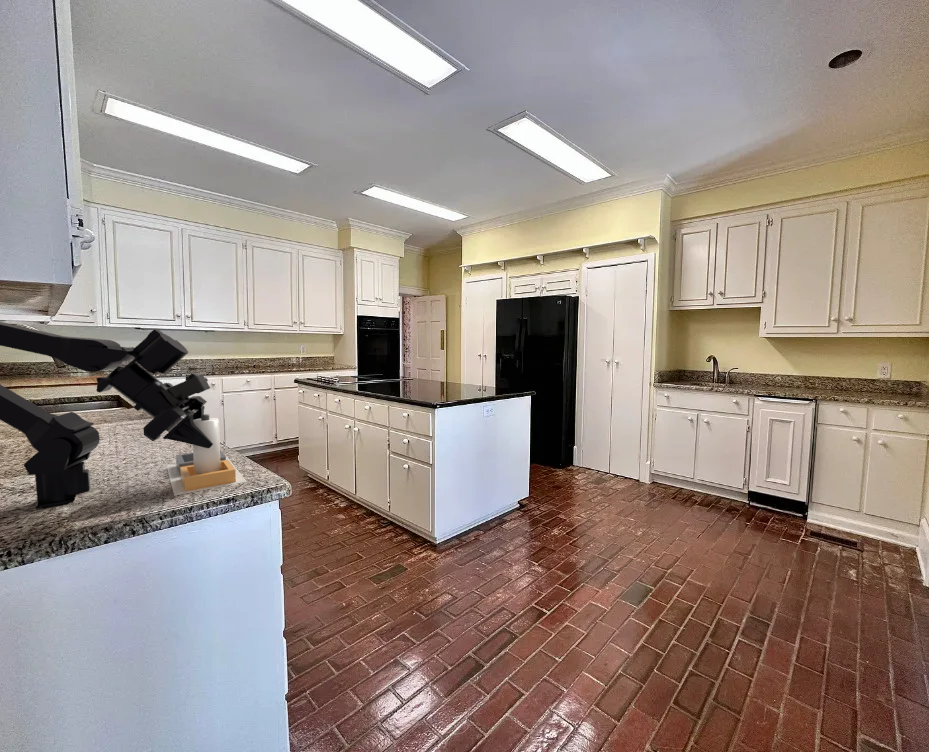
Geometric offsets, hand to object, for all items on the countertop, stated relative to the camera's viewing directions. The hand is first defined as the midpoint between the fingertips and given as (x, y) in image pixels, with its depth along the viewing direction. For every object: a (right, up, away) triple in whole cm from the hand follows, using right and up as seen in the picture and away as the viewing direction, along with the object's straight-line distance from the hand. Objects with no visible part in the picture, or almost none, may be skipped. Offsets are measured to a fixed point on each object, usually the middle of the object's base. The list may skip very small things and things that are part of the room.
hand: (214, 443), depth 83 cm
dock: (-5, -8, +5) cm, 11 cm away
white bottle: (-1, -6, 0) cm, 6 cm away
